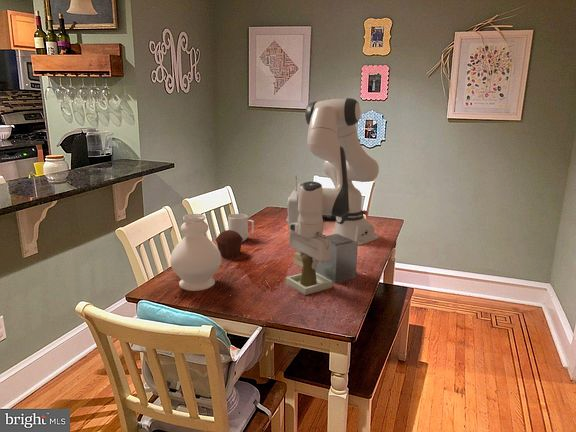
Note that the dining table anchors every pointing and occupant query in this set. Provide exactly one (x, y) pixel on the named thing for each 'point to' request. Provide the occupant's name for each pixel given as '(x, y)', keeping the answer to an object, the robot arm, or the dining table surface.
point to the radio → (293, 205)
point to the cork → (308, 272)
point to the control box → (340, 259)
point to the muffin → (229, 243)
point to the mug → (240, 224)
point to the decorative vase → (195, 255)
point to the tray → (321, 285)
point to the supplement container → (328, 217)
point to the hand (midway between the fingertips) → (309, 266)
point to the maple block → (297, 259)
